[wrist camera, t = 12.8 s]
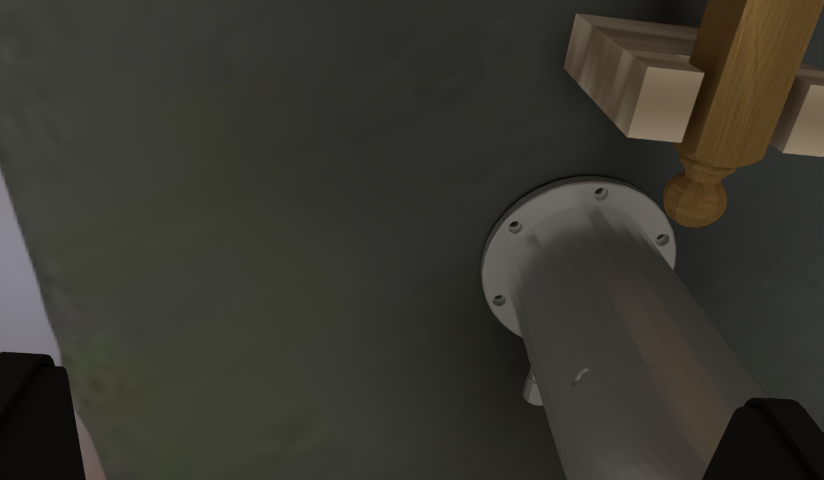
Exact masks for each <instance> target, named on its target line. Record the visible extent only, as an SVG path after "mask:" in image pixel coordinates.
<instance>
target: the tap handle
mask: <svg viewBox="0 0 824 480" xmlns="http://www.w3.org/2000/svg"><path fill="white" fill-rule="evenodd" d="M823 5H824V0H708V2H707V5H706V8H705V11H704V14H703V18H702V21H701V24H700V27H699V30H698V34H697V37H696V40H695V43H694V47H693V50H692V53H691V56H690V59H689V63H690V64H691V65H693V66H694V67H696V68H698V69H699V70H701V71H702V72H704V76H703V79H702V82H701V85H700V88H699V91H698V94H697V97H696V100H695V103H694V106H693V109H692V112H691V115H690V118H689V121H688V124H687V127H686V130H685V133H684V136H683V139H682V142H681V143H678V142H672V144H673V146H674V148H675V149H676V150H677V151H678V152H679V153H680V154H679V157H680V161H681V164H682V165H683V166H684V172H683V173H680V174H677V175H676V176H674V177H672V178H671V179H670V180H669V181H668V182H667V184H666V185H665V188H664V191H663V203H664V209H665V212H666V214H667V215H668V216H669V217H670V218H671V219H672V220H674V221H675V222H677V223H678V224H680V225H683V226H686V227H696V228H700V227H704V226H706V225H709V224H711V223H713V222H715V221H717V220H718V219H719V218H720V217H721V216H722V214H723V213H724V212H725V209H726V206H727V196H726V192H725V189H724V187H723V185H722V182H721V180H722V179H723V178H724V177H725V176H727V175H729V174H732V173H734V172H735V170H736V168H737V167H742V166H747V165H751V164H754V163H756V162H758V161H760V160H762V159H763V158H764V155H765V153H766V150H767V148H768V145H769V143H770V140H771V138H772V135H773V132H774V130H775V127H776V125H777V122H778V120H779V117H780V115H781V112H782V109H783V107H784V104H785V102H786V99H787V97H788V94H789V92H790V89H791V87H792V84H793V81H794V79H795V76H796V74H797V71H798V69H799V66H800V64H801V61H802V59H803V56H804V53H805V51H806V48H807V46H808V43H809V41H810V38H811V36H812V33H813V31H814V28H815V25H816V23H817V20H818V18H819V15H820V13H821V10H822V8H823Z"/></svg>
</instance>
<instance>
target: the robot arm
mask: <svg viewBox="0 0 824 480" xmlns="http://www.w3.org/2000/svg"><path fill="white" fill-rule="evenodd" d="M599 188H600V190H598V191H596V190H597V189H599ZM515 221H516V223H514V224H511V223H512V222H515ZM675 263H676V243H675V238H674V233H673V229H672V227H671V225H670V223H669V221H668V219H667V217H666V215H665V214H664V213H663V212H662V210H661V209H660V208H659V206H658V205H657V204H656V203H655V202H654V201H653V200H652V199H651V198H650V197H649V196H648V195H647V194H646V193H644V192H643V191H641V190H639V189H638V188H636V187H634V186H633V185H631V184H628V183H626V182H623V181H620V180H617V179H614V178H607V177H600V176H581V177H572V178H568V179H563V180H558V181H555V182H552V183H550V184H547V185H545V186H542V187H540V188H538V189H536V190H534V191H533V192H531V193H529V194H528V195H526V196H524V197H523V198H521V199H520V200H519V201H518V202H516V203H515V204H514V205H513V206H512V207H511V208H509V209H508V210H507V211H506V212H505V213H504V215H503V216H502V217H501V218H500V220H499V221H498V222H497V223H496V224H495V226H494V228H493V230H492V232H491V233H490V235H489V237H488V239H487V241H486V244H485V247H484V251H483V254H482V259H481V270H480V273H481V280H482V287H483V290H484V294H485V297H486V301H487V303H488V305H489V306H490V308H491V310H492V312H493V314H494V315H495V316H496V317H497V319H498V320H499V321H500V322H501V323H502V324H503V325H504V326H505V327H506V328H508V329H509V330H510V331H512V332H513V333H514V334H516V335H518V336H520V337H522V338H523V341H524V344H525V347H526V351H527V354H528V360H529V361H530V364H531V368H530V370H529V372H528V374H527V378H526V381H525V385H524V389H523V397H524V398H525V399H526V400H527V401H528V402H529V403H531V404H533V405H539V406H542V405H543V406H544V409H545V412H546V416H547V419H548V422H549V425H550V429H551V432H552V435H553V438H554V442H555V445H556V448H557V451H558V455H559V458H560V461H561V464H562V467H563V470H564V473H565V476H566V479H567V480H824V433H823V432H822V431H821V429H820V428H819V427H818V426H817V424H816V423H815V422H814V420H813V419H812V418H811V417H810V415H809V414H808V413H807V412H806V410H805V409H804V408H803V407H802V406H801V405H800V404H799V403H798V402H796V401H794V400H791V399H775V398H767V397H766V396H765V394H764V393H763V392H762V390H761V389H760V388H759V386H758V385H757V384H756V383H755V382H754V380H753V379H752V377H751V376H750V375H749V373H748V372H747V371H746V369H745V368H744V366H743V365H742V364H741V362H740V361H739V360H738V358H737V357H736V356H735V354H734V353H733V351H732V350H731V349H730V347H729V346H728V345H727V343H726V342H725V340H724V339H723V338H722V336H721V335H720V334H719V332H718V331H717V330H716V328H715V327H714V325H713V324H712V323H711V321H710V320H709V319H708V317H707V316H706V314H705V313H704V312H703V310H702V309H701V308H700V306H699V305H698V304H697V302H696V301H695V299H694V298H693V297H692V295H691V294H690V293H689V291H688V290H687V289H686V287H685V286H684V284H683V283H682V282H681V280H680V279H679V278H678V276H677V275H676V273H675V272H674V271H673V270H674V266H675ZM0 480H86V479H85V473H84V467H83V461H82V456H81V450H80V444H79V438H78V433H77V427H76V421H75V415H74V409H73V403H72V397H71V392H70V386H69V380H68V375H67V371H66V369H65V368H64V367H61V366H55V365H54V361H53V359H52V358H51V356H50V355H46V354H32V353H15V352H1V353H0Z"/></svg>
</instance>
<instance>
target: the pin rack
mask: <svg viewBox="0 0 824 480" xmlns="http://www.w3.org/2000/svg"><path fill="white" fill-rule="evenodd" d="M698 30H699V28H697V27H689V26H680V25H672V24H663V23H655V22H646V21H638V20H629V19H621V18H612V17H603V16H595V15H586V14H578V13H576V15H575V20H574V24H573V28H572V33H571V37H570V41H569V46H568V50H567V54H566V59H565V63H564V67H563V68H564V69H565V70H566V71H567V73H568V74H569V75H570V76H571V77H572V78H573V79H574V80H575V81H576V82H577V83H578V85H579V86H580V87H581V88H582V89H583V90H584V91H585V92H586V93H587V94H588V95H589V96H590V98H591V99H592V100H593V101H594V102H595V103H596V104H597V105H598V106H599V107H600V108H601V110H602V111H603V112H604V113H605V114H606V115H607V116H608V117H609V118H610V119H611V120H612V122H613V123H614V124H615V125H616V126H617V127H618V128H619V129H620V130H621V131H622V132H623V134H624V135H625V136H626V137H628V138H638V139H648V140H658V141H668V142H678V143H681V142H682V139H683V136H684V133H685V130H686V127H687V124H688V121H689V118H690V115H691V112H692V109H693V106H694V103H695V100H696V97H697V94H698V91H699V88H700V85H701V82H702V79H703V76H704V72H702V71H701V70H699V69H698V68H696V67H694V66H693V65H691V64H690V63H689V59H690V56H691V53H692V50H693V47H694V43H695V40H696V37H697V34H698ZM770 144H771V145H772V146H774V147H775V148H777V149H778V150H779V151H781V152H782V153H789V154H799V155H809V156H819V157H824V71H821V70H819V69H817V68H815V67H813V66H811V65H809V64H806V63H804V62H802V61H801V64H800V66H799V69H798V71H797V74H796V76H795V79H794V81H793V84H792V87H791V89H790V92H789V94H788V97H787V99H786V102H785V104H784V107H783V109H782V112H781V115H780V117H779V120H778V122H777V125H776V127H775V130H774V132H773V135H772V138H771V140H770Z"/></svg>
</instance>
